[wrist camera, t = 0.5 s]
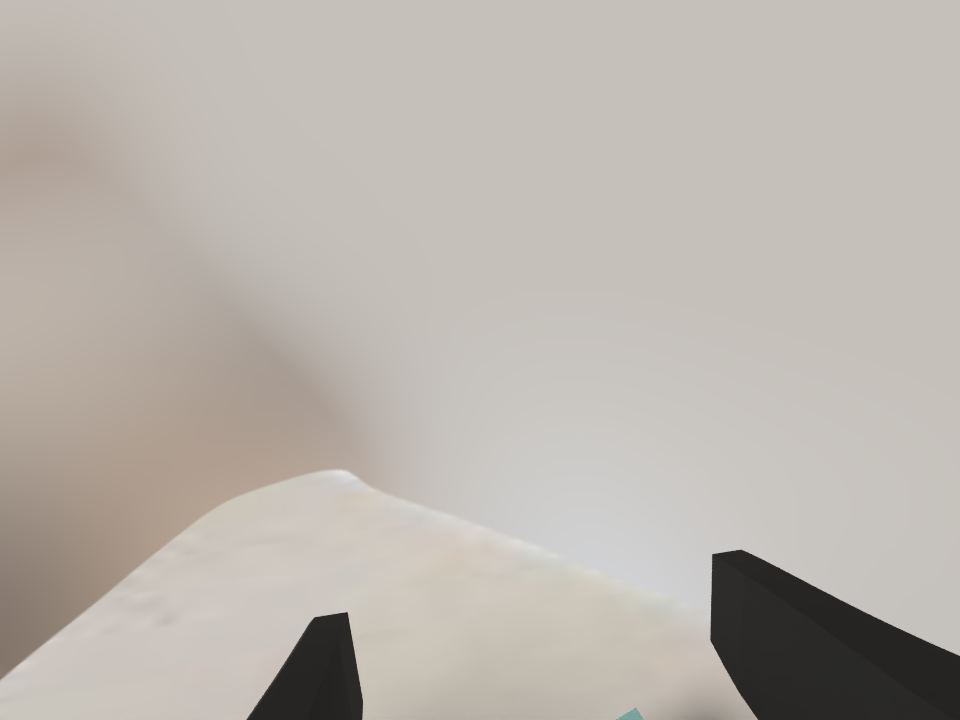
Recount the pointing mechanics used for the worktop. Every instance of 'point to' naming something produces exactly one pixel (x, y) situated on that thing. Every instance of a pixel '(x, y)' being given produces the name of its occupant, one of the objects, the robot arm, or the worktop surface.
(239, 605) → the worktop surface
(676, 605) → the worktop surface
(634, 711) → the teal base block
